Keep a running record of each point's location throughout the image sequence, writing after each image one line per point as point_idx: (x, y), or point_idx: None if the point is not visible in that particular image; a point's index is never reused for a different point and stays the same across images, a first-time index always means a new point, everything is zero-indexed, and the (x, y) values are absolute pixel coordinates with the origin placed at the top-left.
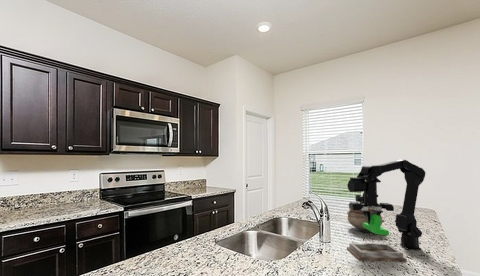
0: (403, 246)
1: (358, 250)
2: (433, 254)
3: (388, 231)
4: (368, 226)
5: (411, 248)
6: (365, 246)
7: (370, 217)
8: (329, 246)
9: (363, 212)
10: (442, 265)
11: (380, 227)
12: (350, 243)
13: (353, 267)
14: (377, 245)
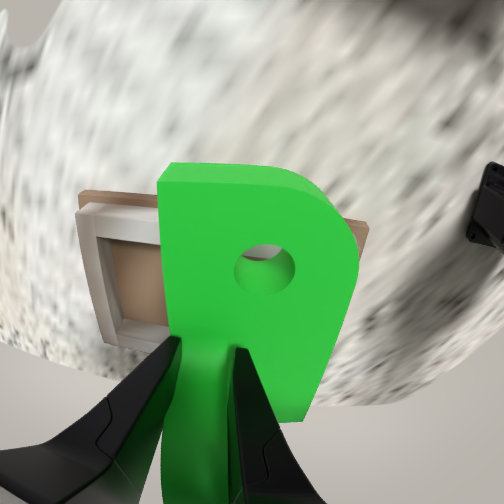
0: (479, 199)
1: (99, 321)
2: (495, 297)
3: (299, 417)
4: (172, 332)
5: (480, 243)
6: None
7: (161, 458)
8: (17, 147)
9: (50, 453)
10: (412, 377)
11: (311, 357)
12: (80, 221)
13: (82, 355)
14: (265, 253)
